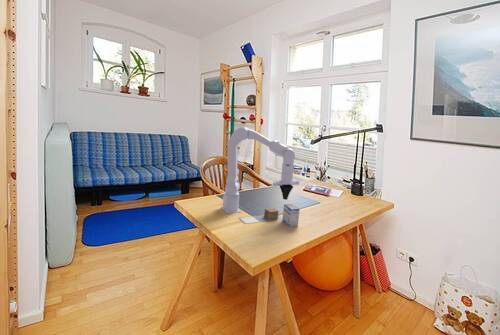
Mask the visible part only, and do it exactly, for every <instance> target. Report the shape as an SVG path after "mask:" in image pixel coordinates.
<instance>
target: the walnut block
mask: <svg viewBox="0 0 500 335" xmlns="http://www.w3.org/2000/svg"><path fill="white" fill-rule="evenodd" d="M263 215H264V216H265V217H266V218H268V219H269V220H270V219H277V218H278V216H279V210H278V209H276V208H275V207H267V208H264V214H263Z"/></svg>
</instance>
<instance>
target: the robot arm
mask: <svg viewBox="0 0 500 335" xmlns="http://www.w3.org/2000/svg"><path fill="white" fill-rule="evenodd" d="M246 140H255V141H257V142H259V143H261V144H263V145H265V146H266V147H268V150H269V151H270V152H272V153H273V154H275V155H276V156H278V157H282V163H281V174H280V180H278V181H273V182H272V186H273V187H278V186H279V189H280V191H281V195H282V199H283V200H285V201H286V200H287V201H288V198H289V196H290V193H291V192H292V190H293V188H294V186H295V185H297V186H298V185H300V180H297V179H296V180H295V179H294V178H293V177H294V167H295V166H294V162H295V160H294V159H295V158H296V156H295V154H296V153H295V151H294V149H292V148H291V147H289V146H288V145H284V144H283V143H281V140H275V139H274V140H270V139H269V138H267V137H266V136H264V135H262V134H261V133H259V132H258V131H255V130H253V129H251V128H248V127H247V126H242V127H238V128H236V129H235V130H233V132H232V133H231V136H230V137H229V139H228V140H227V178H226V185H225V187H224V192H225V193H224V194H223V196H222V206H221V207H220V209H222V210H223V211H224V212H225V213H226V214H235V213H241V212H242V210H240V209H239V206H240V204H239V203H240V192H239V190H240V188H241V184H240V181H239V177H238V145H240V144H241V143H242V142H243V141H246Z"/></svg>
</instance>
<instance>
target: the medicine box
mask: <svg viewBox="0 0 500 335" xmlns="http://www.w3.org/2000/svg"><path fill="white" fill-rule="evenodd" d="M299 218H300V209H299V207H297V206H295V205H294V204H292V203H285V204H283V212H282V219H281V221H282V222H283V223H285V224H286V225H287V226H289V227H290V228H291V227H298V226H299V222H300V221H299Z"/></svg>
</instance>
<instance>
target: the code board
mask: <svg viewBox="0 0 500 335" xmlns="http://www.w3.org/2000/svg"><path fill="white" fill-rule="evenodd" d="M237 219H238V220H239V221H240V222H242V223H243V225H249V224H256V223H263V222H270V221H272V222H273V221H279V220H282V219H283V217H280V215H278V218H277V219H270V220H269V219H268V218H266V217H265V216H264V214H261V215H260V214H259V215H253V216H252V215H251V216H244V217H242V216H241V217H237Z"/></svg>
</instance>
